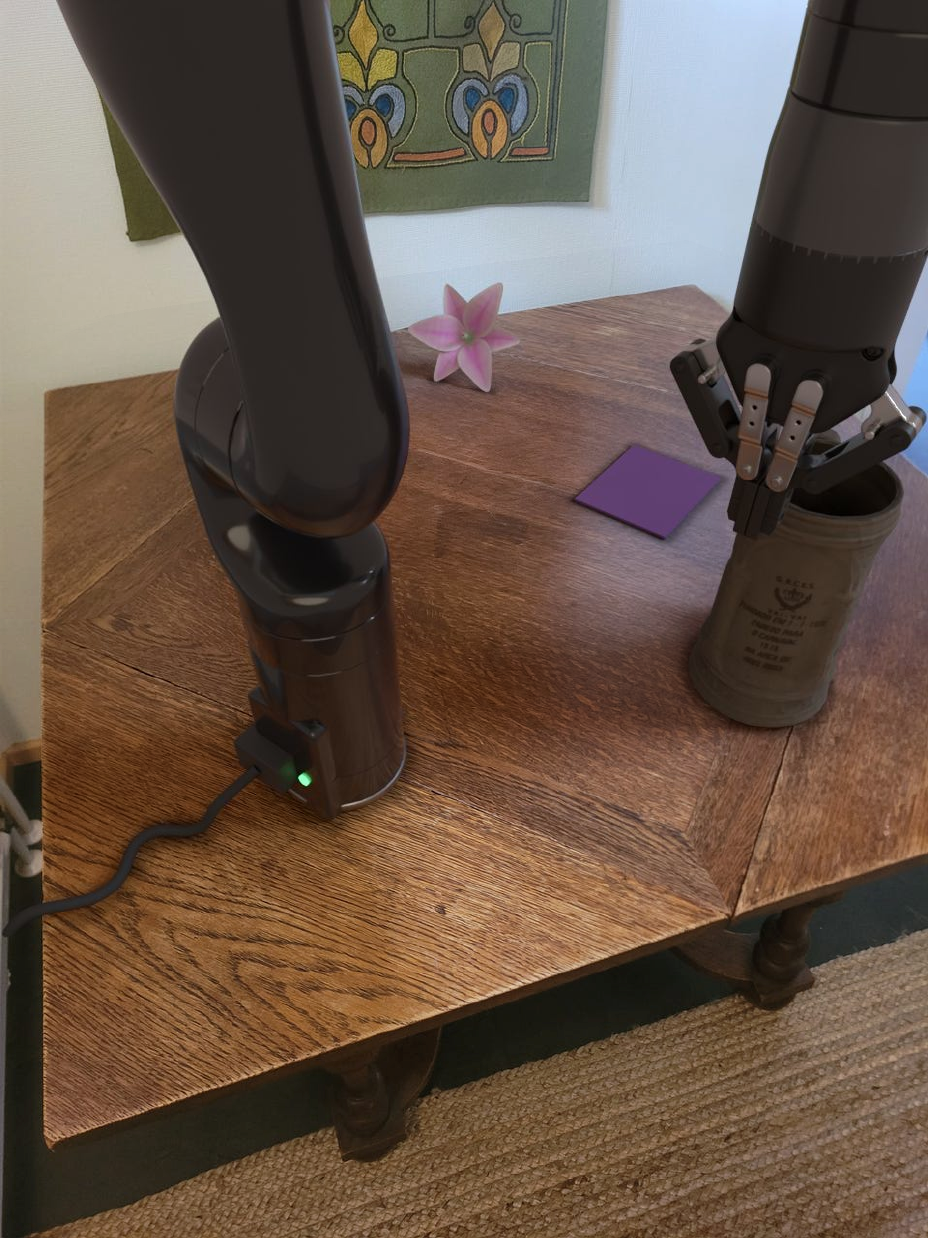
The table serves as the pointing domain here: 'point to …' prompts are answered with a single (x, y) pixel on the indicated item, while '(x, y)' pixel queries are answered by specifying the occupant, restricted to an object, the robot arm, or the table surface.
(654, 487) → the cloth
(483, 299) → the lily
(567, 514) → the table surface
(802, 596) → the beer stein
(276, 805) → the table surface
